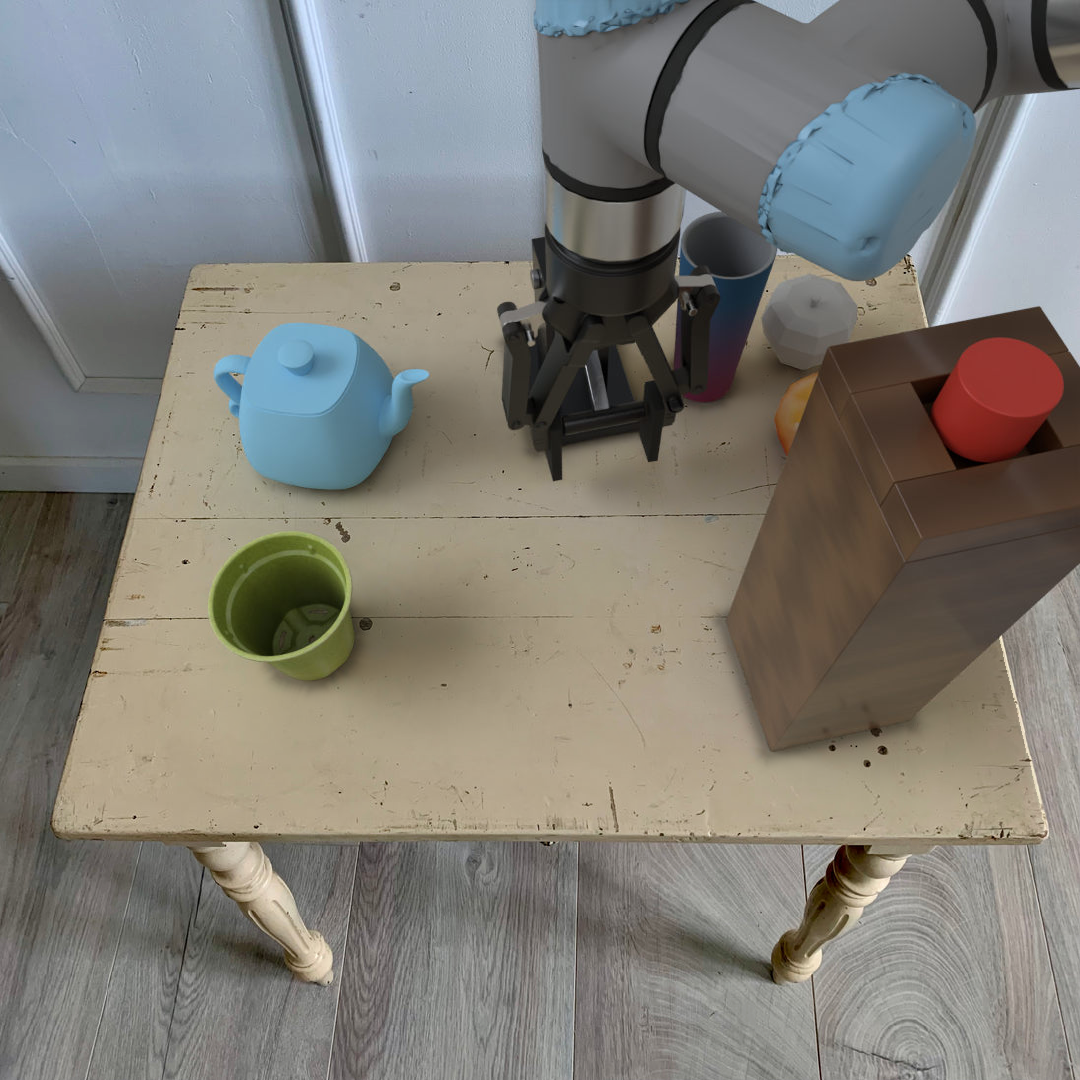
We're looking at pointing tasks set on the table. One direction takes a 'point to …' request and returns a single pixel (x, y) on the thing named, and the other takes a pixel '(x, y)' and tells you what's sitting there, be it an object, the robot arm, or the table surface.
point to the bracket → (578, 390)
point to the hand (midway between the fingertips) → (601, 456)
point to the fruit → (792, 410)
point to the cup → (725, 291)
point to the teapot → (316, 405)
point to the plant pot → (285, 604)
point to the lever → (600, 405)
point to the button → (996, 399)
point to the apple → (808, 319)
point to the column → (899, 537)
